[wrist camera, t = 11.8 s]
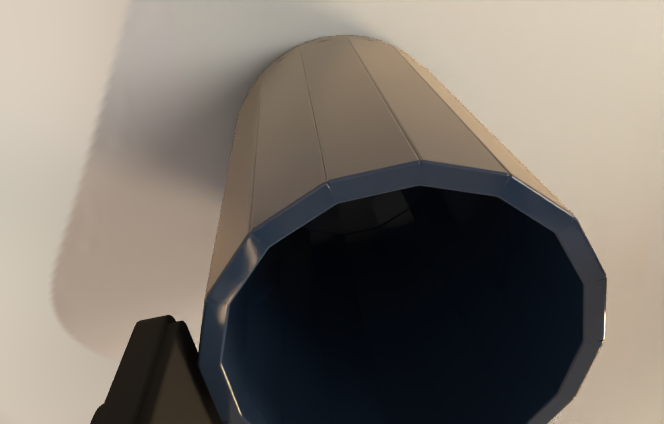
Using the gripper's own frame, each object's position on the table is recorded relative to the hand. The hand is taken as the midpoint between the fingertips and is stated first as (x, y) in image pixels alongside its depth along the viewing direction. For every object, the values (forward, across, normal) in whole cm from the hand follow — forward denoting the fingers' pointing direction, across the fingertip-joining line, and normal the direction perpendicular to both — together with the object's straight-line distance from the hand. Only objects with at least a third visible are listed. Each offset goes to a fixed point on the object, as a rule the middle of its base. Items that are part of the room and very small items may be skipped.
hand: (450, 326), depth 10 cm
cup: (+9, +1, 0) cm, 9 cm away
